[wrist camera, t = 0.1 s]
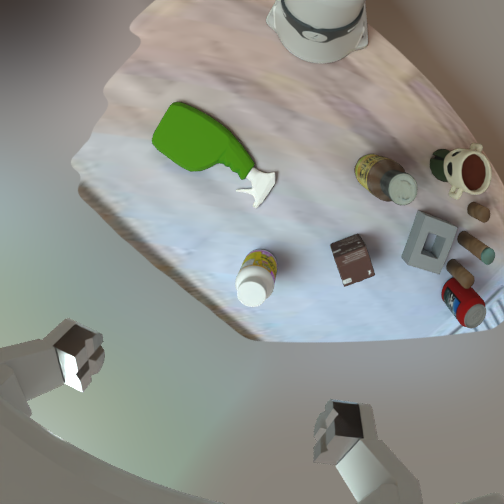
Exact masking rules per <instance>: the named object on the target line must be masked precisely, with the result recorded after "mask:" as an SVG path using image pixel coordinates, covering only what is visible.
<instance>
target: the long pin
mask: <svg viewBox="0 0 504 504" xmlns="http://www.w3.org/2000/svg"><path fill="white" fill-rule="evenodd" d="M457 240H458V243H459V244H460V245H462V246H463V247H464V248H466V249H467V250H468V251H470V252H471V253H472V254H473V255H475V256H476V257H477V258H479V259H480V260H481V261H482V262H484V263H485V264H486V265H489V264H491V263H492V262H493V260H494V258H495V252H494V250H493V249H491V248H490V247H488V246H487V245H485V244H484V243H482V242H481V241H479V240H478V239H477V238H475V237H473V236H472V235H470V234H469V233H467V232H466V231H462V232H460V233H459V235H458V238H457Z"/></svg>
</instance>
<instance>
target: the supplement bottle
mask: <svg viewBox="0 0 504 504" xmlns="http://www.w3.org/2000/svg"><path fill="white" fill-rule="evenodd" d="M276 273H277V261H276V259H275V257H274V256H273V255H272V254H271V253H270V252H268V251H266V250H261V249H259V250H254V251H252V252H250V253H249V254H248V255H247V256H246V258H245V260H244V262H243V264H242V266H241V268H240V271H239V273H238V275H237V277H236V281H235V286H236V290H237V296H238V298H239V300H240V301H241V303H243V304H244V305H246V306H249V307H256V306H259V305H261V304H262V303H263V302H264V301H265V300H266V299H267V298H268V297H269V296H270V295H271V294H272V292H273V289H274V283H275V278H276Z"/></svg>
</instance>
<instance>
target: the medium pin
mask: <svg viewBox="0 0 504 504" xmlns="http://www.w3.org/2000/svg"><path fill="white" fill-rule="evenodd" d="M446 268H447V271H448V272H449V273H450V274H451V275H452V276H453V277H454V278H455V279H456V280H457V281H458V282H459V283H460V284H461V285H462V286H463V287H464V288H465V289H468V288H470V287H471V286H472V285H473V283H474V276H473V275H472V274H471V273H470V272H469V271H467V270H466V269H465V268H464V267H463V266H462V265H461V264H460V263H459V262H458V261H456V260H455V259H451V260H450V261H449V262H448V263H447V266H446Z"/></svg>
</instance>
